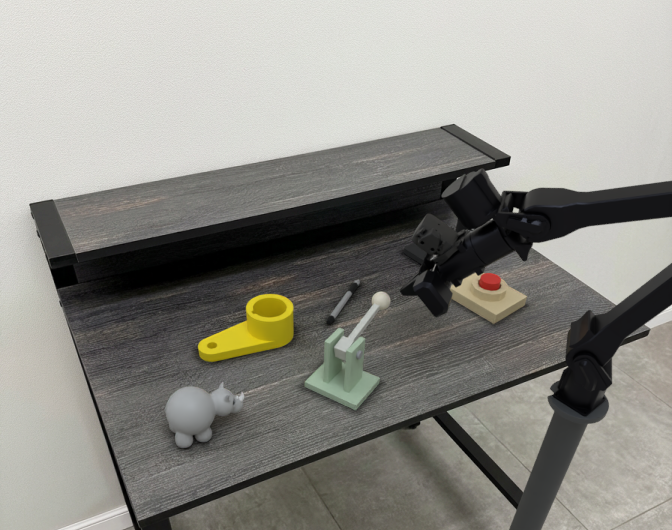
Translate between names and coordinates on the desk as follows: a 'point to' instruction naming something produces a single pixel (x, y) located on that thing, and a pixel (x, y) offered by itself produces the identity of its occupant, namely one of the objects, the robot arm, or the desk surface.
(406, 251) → the remote control
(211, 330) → the desk surface
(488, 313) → the button box
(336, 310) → the pen
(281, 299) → the crank
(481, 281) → the button
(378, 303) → the lever
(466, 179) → the robot arm
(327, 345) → the bracket
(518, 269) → the desk surface
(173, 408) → the round bodied animal figurine
